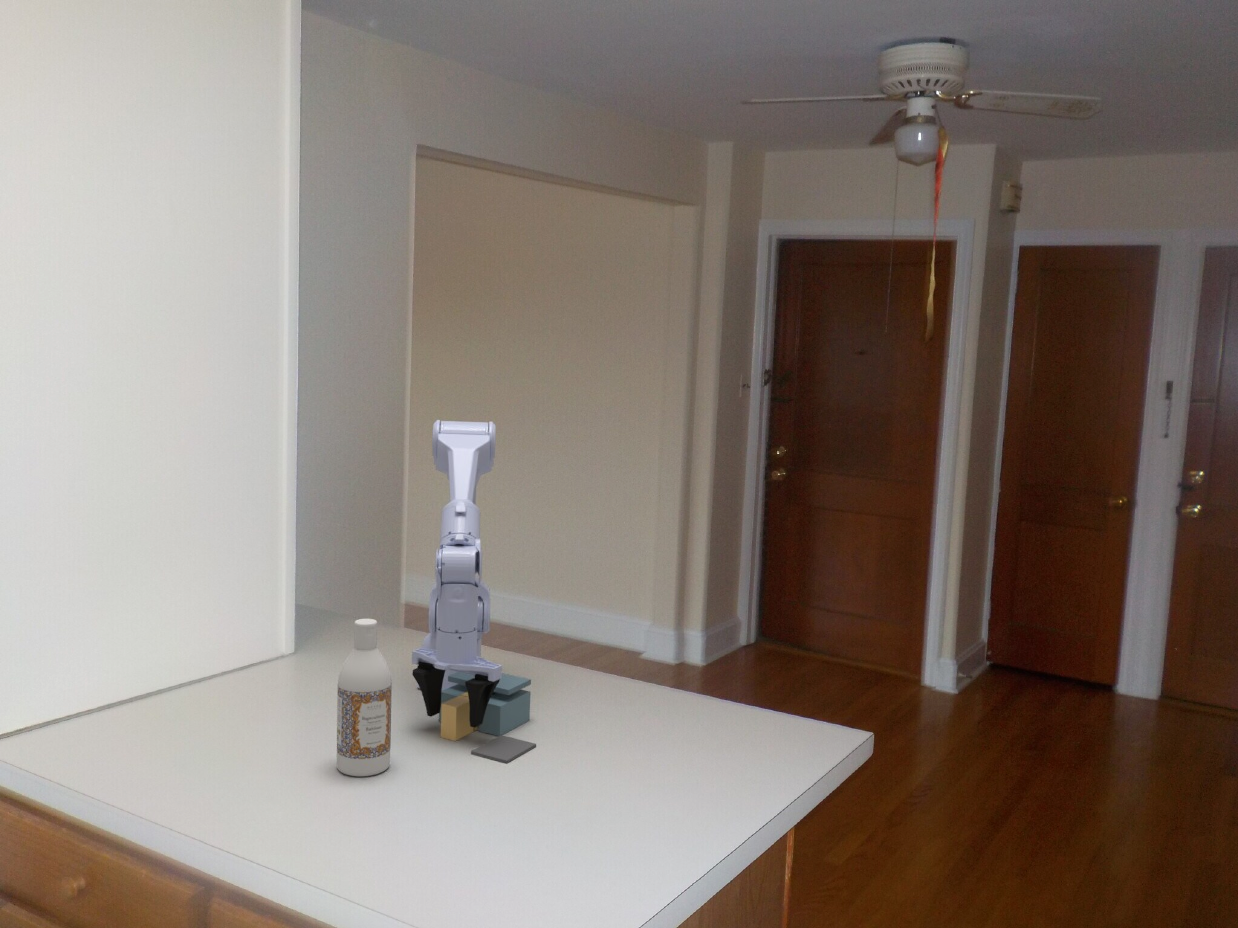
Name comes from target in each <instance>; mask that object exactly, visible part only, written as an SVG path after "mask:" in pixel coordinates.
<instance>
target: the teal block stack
mask: <svg viewBox="0 0 1238 928" xmlns="http://www.w3.org/2000/svg"><path fill="white" fill-rule="evenodd" d="M473 678H475V676H474V675H470V674H465V673H461V672H457V673H454V674H452V675H449V676H448V681H449V682H453V683H457V684H456V685H454V686H452V687H450V688H447V689H445V690H443V691H442V692H441V707H442V703H444V702H446V701H449V700H451V699H453V698H455V697H457V696H459V695H462V694H464V693H466V692H467V688H466V685H465V682H466V681H468V680H470V679H473ZM531 682H532V679H531V678H526V677H521V676H516V675H512V674H509V673H505V672H504V673H503V672H502V678H501V679H500V681H499V683H498V684H497V686H496V688H495V689H494V691H493V693H492V696H491V697H490V700H489V702H488V705H487V708H486V711H485V714H484V718H483V722H482V724H481V725H479V729H478V732H481V733H485V734H489V735H493V736H496V737H498V736H500V735H503V736H504V735H505V734H507V733H508V732H510V731H512V730H514V729H516V728H518V727H519V726H522V725H523V724H525V723H528V722H529V721H530V718H531V717H530V716H531V714H530V713H531V691H528V690H525V689H524V688H526V687H529V686H530V685H531ZM438 721H439V722H441V708H440V713H438Z"/></svg>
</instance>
